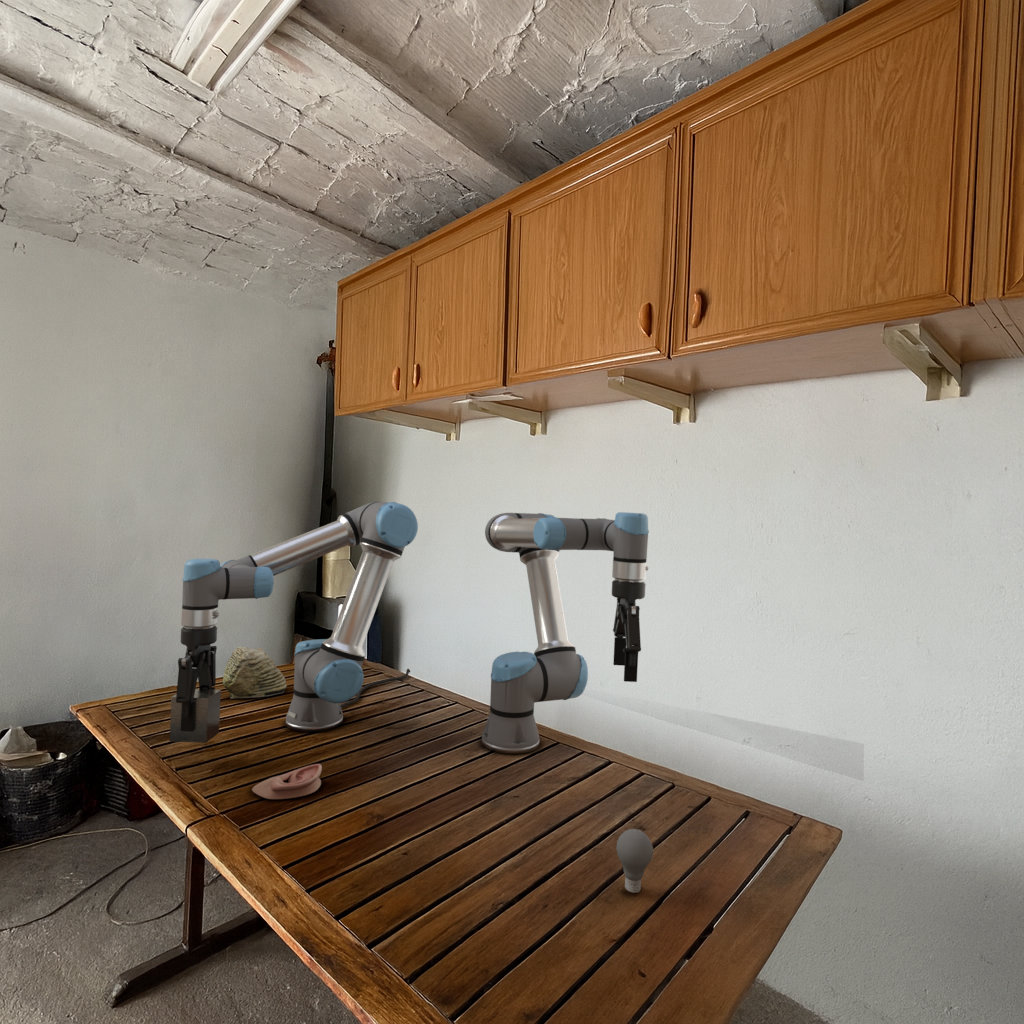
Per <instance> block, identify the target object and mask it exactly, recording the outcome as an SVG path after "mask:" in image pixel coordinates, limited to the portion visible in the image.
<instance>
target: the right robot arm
mask: <svg viewBox="0 0 1024 1024" xmlns="http://www.w3.org/2000/svg"><path fill="white" fill-rule="evenodd" d="M649 532H650V530H649V517H648V515H647V513H643V512H623V511H620V512H616V514H615V517H614V519H609V518H604V517H603V518H599V517H597V518H576V517H575V518H573V517H572V518H571V517H556V516H554V515H552V514H547V513H543V512H542V513H541V512H537V513H529V512H528V513H527V512H502V513H499V514H496V515H495V516H492V517H491V518H490V519H489V520H488V521H487V523H486V526H485V529H484V537H485V539H486V541H487V543H488V544H489V546H490V547H492V548H493V549H495V550H497V551H499V552H504V553H518V555H519V561H520V562H521V563H522V564H523V565H525V567H526V573H527V580H528V587H529V593H530V599H531V600H530V601H531V606H532V613H533V620H534V628H535V632H536V639H537V647H536V649H534V652H531V651H510V652H506V653H503V654H500V655H499V656H497V657H495V658H494V659H493V662H492V666H491V672H490V701H489V714H488V717H487V719H486V722H485V725H484V728H483V731H482V733H481V744H482V746H484V747H485V748H486V749H488V750H489V751H492V752H496V753H500V754H507V755H520V754H526V753H530V752H533V751H535V750H536V749H538V748H539V746H540V734H539V730H538V726H537V723H536V719H535V704H536V703H540V702H541V703H543V702H553V701H567V700H571V699H576V698H579V697H580V696H581V695H582V694H583V693H584V691H585V690H586V687H587V684H588V679H589V668H588V664H587V660H586V659H585V657H584V656H583V655H581V654H579V653H577V650H576V646H575V645H574V644H572V643H571V642H570V641H569V635H568V629H567V623H566V617H565V612H564V606H563V605H564V604H563V600H562V593H561V588H560V582H559V577H558V576H559V575H558V570H557V564H556V560H557V559H558V557H559V556H560V551H608V552H613V554H612V555H613V557H612V570H611V572H612V573H611V576H612V578H613V580H612V581H611V596H612V597H614V598H616V609H615V615H614V621H613V628H612V632H613V635H614V641H613V642H614V643H613V660H612V661H613V662H612V664H613V666H622V667H623V666H624V667H623V681H624V682H625V683H626V682H627V683H628V682H629V683H637V682H638V664H639V652H641V651H642V644H641V628H640V626H641V625H640V624H641V623H640V609H641V608H640V606H639V605H636V601H637V600H643V599H644V598H645V597H646V585H647V584H646V583H645V580H646V579H647V572H646V571H648V570H650V569H649V566H647V559H648V544H649Z"/></svg>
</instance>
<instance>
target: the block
mask: <svg viewBox="0 0 1024 1024" xmlns="http://www.w3.org/2000/svg"><path fill="white" fill-rule="evenodd" d="M176 694H177V693H175V694H173V695H172V696H171V700H170V702H171V703H170V725H169V742H173V743H174V742H175V743H177V742H178V743H196V744H207V743H209V742H210V741H211V740H212V739H213V738H214V737H216V736H217V735H218V734H219V733H220V723H221V721H220V720H221V719H220V718H221V717H220V716H221V697H222V695H221V694H222V690H221V689H215V690H210V689H199V688H196V689H195V694H194V699H193V702H195V723H194V731H193V732H192V731H181V709H182V703H177V702H176Z"/></svg>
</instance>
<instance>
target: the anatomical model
mask: <svg viewBox="0 0 1024 1024" xmlns="http://www.w3.org/2000/svg"><path fill="white" fill-rule="evenodd" d="M322 770H323V766H322V764H320V763H314V764H309V765H306V766H303V767H300V768H297V769H294V770H292V771H289V772H286V773H283V774H280V775H276V776H272V777H269V778H267V779H264V780H263V781H261V782H259V783H257V784H256V785H254V786H252V788H251V791H252V793H254V794H256V795H257V796H259V797H261V798H264V799H267V800H285V799H294V798H299V797H304V796H307V795H311V794H312V793H315V792H316V791H318V790H319V788H320V787H321V785H322V780H321V779H320V776H321V774H322Z"/></svg>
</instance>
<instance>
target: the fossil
mask: <svg viewBox="0 0 1024 1024" xmlns="http://www.w3.org/2000/svg"><path fill="white" fill-rule="evenodd" d="M222 676H223V677H222V685H223V687H224V688H225V690H226V691H228V693H229V698H230V699H250V698H264V697H271V696H275V695H281V694H284V693H285V691H286V689H287V687H288V686H287V680H286V678H285V676H284V674H283V673H282V672H281V669H279V668H278V667H277V665H276V663H275V662H274V660H273V659H272V658H271V657H270V656H269V655H268V654H267V653H266V652H265V650H264V649H263V648H260V647H258V648H251V647H247V646H246V647H245V646H238V647H237V648H236V649H235V650H233V651H232V653H231V656H230V657H229V659H228V660H227V663H226V666H225V668H224V671H223V675H222Z"/></svg>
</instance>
